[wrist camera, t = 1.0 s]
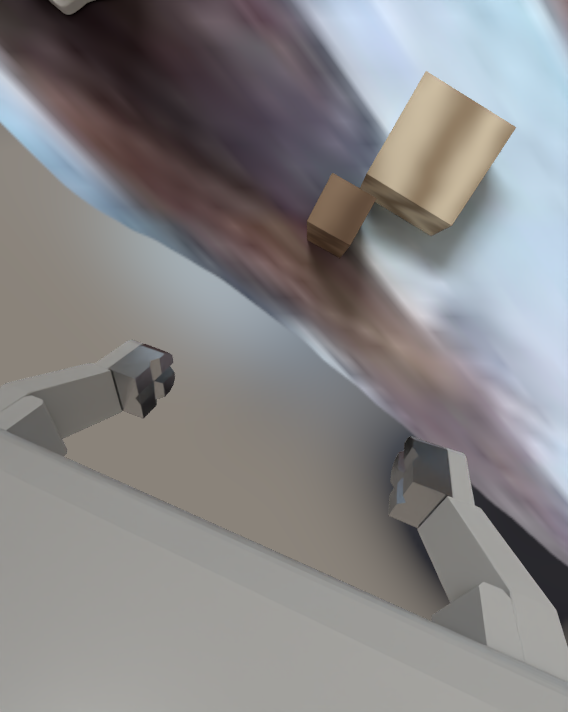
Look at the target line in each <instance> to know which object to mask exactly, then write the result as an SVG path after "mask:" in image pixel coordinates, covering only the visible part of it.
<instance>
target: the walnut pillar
mask: <svg viewBox="0 0 568 712" xmlns="http://www.w3.org/2000/svg"><path fill="white" fill-rule="evenodd" d="M376 199H377V198H376V197H374V196H372V195H370V194H369V193H367V192H365V191H363V190H362V189H360V188H358V187H356V186H355V185H353V184H351V183H349V182H348V181H346V180H344V179H342V178H341V177H339V176H337V175H335V174H334V173H332V174H331V176H330V178H329V180H328V182H327V184H326V186H325V188H324V190H323V192H322V194H321V195H320V197H319V199H318V201H317V203H316V205H315V207H314V209H313V211H312V213H311V214H310V216H309V218H308V220H307V240H308V241H310V242H312V243H314V244H316V245H317V246H319V247H321V248H323V249H324V250H326V251H328V252H330V253H331V254H333V255H335V256H337V257H339V258H341V256H342V255H343V254H344V253H345V251H346V250H347V249H348V247H349V246H350V245H351V243H352V241H353V239H354V238H355V236H356V234H357V232H358V231H359V229H360V227H361V225H362V223H363V222H364V220H365V218H366V216H367V215H368V213H369V211H370V209H371V207H372V206H373V204H374V202H375V200H376Z"/></svg>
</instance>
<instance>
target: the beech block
mask: <svg viewBox="0 0 568 712" xmlns="http://www.w3.org/2000/svg"><path fill="white" fill-rule="evenodd" d="M515 128H516V127H515V126H513V125H511V124H510V123H508V122H507V121H505V120H503V119H502V118H500V117H499V116H497V115H495V114H494V113H492V112H491V111H489V110H488V109H486V108H484V107H483V106H481V105H480V104H478V103H476V102H475V101H473V100H472V99H470V98H468V97H467V96H465V95H464V94H462V93H460V92H459V91H457V90H456V89H454V88H452V87H451V86H449V85H448V84H446V83H444V82H443V81H441V80H440V79H438V78H436V77H435V76H433V75H432V74H430V73H428V72H427V71H426V72H425V74H424V75H423V77H422V79H421V80H420V82H419V84H418V86H417V87H416V89H415V91H414V93H413V94H412V96H411V98H410V100H409V101H408V103H407V105H406V107H405V108H404V110H403V112H402V113H401V115H400V117H399V119H398V120H397V122H396V124H395V126H394V127H393V129H392V131H391V133H390V134H389V136H388V138H387V139H386V141H385V143H384V145H383V146H382V148H381V150H380V152H379V153H378V155H377V157H376V159H375V160H374V162H373V164H372V165H371V167H370V169H369V171H368V172H367V174H366V176H365V178H364V181H363V183H362V185H361V187H360V189H362V190H363V191H365V192H367V193H369V194H370V195H372V196H374V197H376V198H377V199H376V200H375V202H376V203H377V204H379V205H381V206H382V207H384V208H386V209H387V210H389V211H391V212H392V213H394V214H396V215H397V216H399V217H400V218H402V219H404V220H405V221H407V222H409V223H410V224H412V225H414V226H415V227H417V228H419V229H420V230H422V231H424V232H425V233H427V234H428V235H430V236H432V235H434V234H436V233H438V232H440V231H442V230H444V229H446V228H448V227H450V226H452V225H453V223H454V221H455V220H456V218H457V217H458V215H459V214H460V212H461V211H462V209H463V208H464V206H465V205H466V203H467V202H468V200H469V199H470V197H471V196H472V194H473V192H474V191H475V189H476V188H477V186H478V185H479V183H480V182H481V180H482V179H483V177H484V176H485V174H486V173H487V171H488V170H489V168H490V166H491V165H492V163H493V162H494V160H495V159H496V157H497V156H498V154H499V153H500V151H501V150H502V148H503V147H504V145H505V144H506V142H507V141H508V139H509V137H510V136H511V134H512V133H513V131H514V130H515Z"/></svg>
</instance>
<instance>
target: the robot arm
mask: <svg viewBox="0 0 568 712" xmlns="http://www.w3.org/2000/svg"><path fill="white" fill-rule="evenodd" d="M49 1H50V2H51V3H52V4H53V5H55V6H56V7H57V8H58V9H59V10H60V11H61V12H63V13H64V14H67V15H70V14H73V13H75V12H76V11H78V10H79V9H80V8H82V7H83V6H84V5H85V4H86V3H88V2H90V1H94V0H49ZM172 363H173V358H172V355H171V354H170V353H168V352H165V351H163V350H160V349H157V348H155V347H152V346H149V345H146V344H143V343H140V342H138V341H135V340H129V341H127V342H125V343H124V344H122V345H121V346H119V347H118V348H116V349H115V350H113V351H112V352H111V353H109V354H108V355H106V356H105V357H103V358H102V359H100V360H99V361H98V362H96V363H95V364H91V363H87V364H84V365H79V366H75V367H71V368H67V369H63V370H59V371H55V372H51V373H46V374H42V375H38V376H34V377H29V378H25V379H21V380H17V381H13V382H9V383H5V384H4V385H2V386H0V712H568V647H567V644H566V641H565V637H564V634H563V631H562V627H561V624H560V621H559V618H558V614H557V611H556V609H555V608H554V607H553V605H552V604H551V603H550V601H549V600H548V599H547V597H546V596H545V595H544V593H543V592H542V590H541V589H540V588H539V586H538V585H537V584H536V582H535V581H534V580H533V578H532V577H531V576H530V574H529V573H528V571H527V570H526V569H525V567H524V566H523V565H522V563H521V562H520V561H519V559H518V558H517V557H516V555H515V554H514V553H513V551H512V550H511V549H510V547H509V546H508V544H507V543H506V542H505V540H504V539H503V538H502V536H501V535H500V534H499V533H498V531H497V530H496V528H495V527H494V526H493V524H492V523H491V522H490V520H489V519H488V518H487V516H486V515H485V514H484V512H483V511H482V510H481V508H479V507H476V506H475V504H474V499H473V493H472V487H471V482H470V476H469V470H468V465H467V459H466V456H465V455H464V454H463V453H460V452H457V451H454V450H451V449H448V448H444V447H442V446H439V445H436V444H433V443H430V442H427V441H424V440H421V439H418V438H415V437H412V436H410V437H409V438H407V440H406V442H405V443H404V451H402V452H399V454H398V455H397V457H396V459H395V461H394V464H393V467H392V472H391V483H392V485H393V487H394V489H393V490H392V492H391V493H390V497H389V516H391V517H393V518H395V519H398V520H400V521H402V522H405V523H407V524H409V525H412V526H414V527H416V528H418V532H419V534H420V536H421V539H422V541H423V543H424V545H425V548H426V550H427V552H428V554H429V556H430V559H431V561H432V563H433V565H434V567H435V570H436V572H437V574H438V576H439V579H440V581H441V583H442V585H443V587H444V590H445V592H446V594H447V596H448V599H449V601H450V604H448V605H447V606H445V607H444V608H442V609H441V610H439V611H438V612H436V613H435V614H433V615H432V621H430V620H428V619H425V618H423V617H421V616H419V615H417V614H414V613H412V612H410V611H408V610H405V609H403V608H401V607H399V606H396V605H394V604H392V603H390V602H387V601H385V600H383V599H381V598H378V597H376V596H374V595H372V594H370V593H367V592H365V591H363V590H361V589H359V588H356V587H354V586H352V585H350V584H347V583H345V582H343V581H341V580H338V579H336V578H334V577H332V576H329V575H327V574H325V573H323V572H320V571H318V570H316V569H314V568H311V567H309V566H307V565H305V564H303V563H300V562H298V561H296V560H294V559H292V558H289V557H287V556H285V555H282V554H280V553H278V552H276V551H274V550H272V549H269V548H267V547H265V546H263V545H260V544H258V543H256V542H254V541H251V540H249V539H247V538H245V537H242V536H240V535H238V534H236V533H234V532H231V531H229V530H227V529H225V528H222V527H220V526H218V525H216V524H214V523H211V522H209V521H207V520H205V519H202V518H200V517H198V516H196V515H193V514H191V513H189V512H187V511H184V510H182V509H180V508H178V507H175V506H173V505H171V504H169V503H166V502H164V501H162V500H160V499H158V498H155V497H153V496H151V495H149V494H147V493H144V492H142V491H140V490H137V489H135V488H133V487H131V486H129V485H126V484H124V483H122V482H120V481H117V480H115V479H113V478H111V477H108V476H106V475H104V474H102V473H99V472H97V471H95V470H93V469H91V468H88V467H86V466H84V465H82V464H80V463H77V462H75V461H73V460H71V459H68V458H66V457H64V456H65V455H66V454H67V448H66V446H65V444H64V442H63V440H62V439H63V438H65V437H68V436H70V435H72V434H74V433H76V432H79V431H81V430H83V429H85V428H88V427H90V426H92V425H94V424H96V423H99V422H101V421H103V420H105V419H108V418H110V417H112V416H114V415H116V414H119V413H121V412H122V411H124V412H127V413H130V414H133V415H135V416H138V417H141V418H145V416H147V415H148V413H150V411H151V410H152V409H153V408H154V407H155V406H156V405H157V399H160V398H163V397H165V396H166V395H167V394H168V393H169V392H170V390H171V388H172V386H173V384H174V380H175V374H174V371H173V370H172V368H171V367H170V365H171V364H172Z"/></svg>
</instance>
